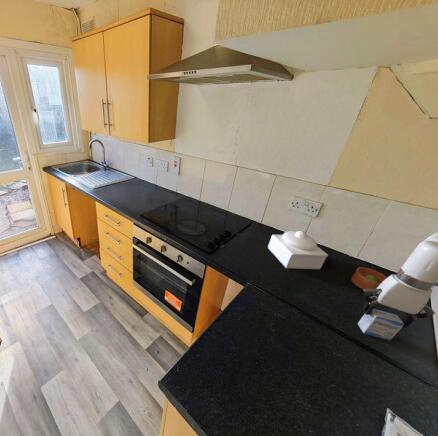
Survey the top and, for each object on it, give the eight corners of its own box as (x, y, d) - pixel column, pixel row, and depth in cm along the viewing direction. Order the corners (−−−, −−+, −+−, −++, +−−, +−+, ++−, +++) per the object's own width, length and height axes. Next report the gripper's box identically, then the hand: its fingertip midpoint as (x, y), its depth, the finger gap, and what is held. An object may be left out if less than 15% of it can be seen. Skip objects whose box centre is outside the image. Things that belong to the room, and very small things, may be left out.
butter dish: (297, 248, 126) (308, 223, 119) (320, 269, 110) (335, 242, 103) (267, 247, 125) (276, 222, 118) (286, 268, 109) (298, 241, 101)
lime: (371, 283, 102) (377, 274, 100) (375, 290, 98) (382, 281, 96) (358, 279, 104) (363, 271, 102) (361, 286, 100) (367, 277, 98)
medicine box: (362, 333, 79) (376, 316, 75) (356, 323, 82) (368, 306, 79) (390, 341, 77) (405, 324, 73) (383, 330, 80) (396, 313, 76)
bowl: (377, 282, 104) (384, 272, 101) (387, 298, 95) (395, 288, 92) (347, 274, 108) (353, 264, 105) (354, 289, 99) (361, 278, 96)
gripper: (446, 282, 68) (411, 320, 76) (374, 263, 75) (349, 300, 82) (463, 298, 62) (423, 338, 70) (383, 276, 69) (355, 315, 76)
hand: (383, 317), depth 76 cm, fingers open, 9 cm apart
